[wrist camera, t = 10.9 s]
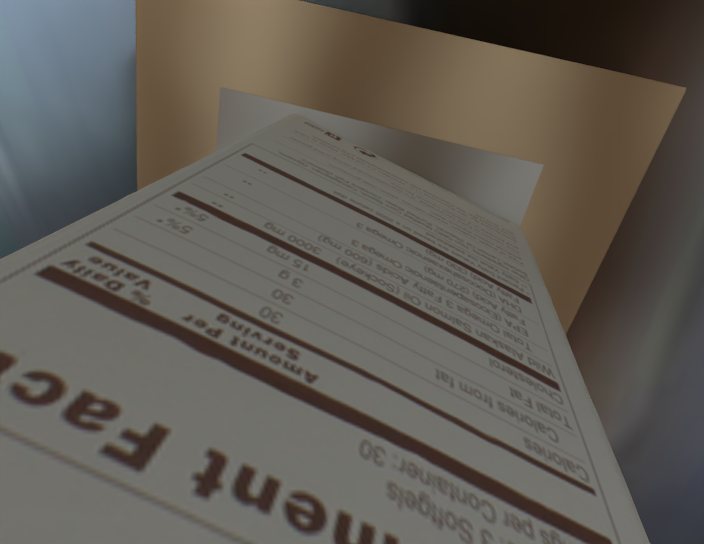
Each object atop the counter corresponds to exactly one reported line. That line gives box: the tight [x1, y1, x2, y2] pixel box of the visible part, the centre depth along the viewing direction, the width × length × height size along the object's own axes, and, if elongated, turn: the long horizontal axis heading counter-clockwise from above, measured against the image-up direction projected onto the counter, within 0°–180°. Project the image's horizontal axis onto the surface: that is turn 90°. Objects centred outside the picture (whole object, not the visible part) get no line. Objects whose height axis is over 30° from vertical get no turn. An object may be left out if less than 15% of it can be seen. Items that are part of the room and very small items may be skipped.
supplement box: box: [0, 114, 650, 544], centre depth 10 cm, size 7×7×13 cm
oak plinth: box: [136, 0, 687, 335], centre depth 17 cm, size 14×14×4 cm
